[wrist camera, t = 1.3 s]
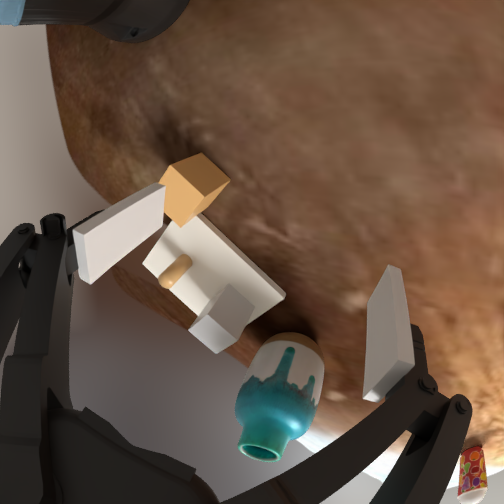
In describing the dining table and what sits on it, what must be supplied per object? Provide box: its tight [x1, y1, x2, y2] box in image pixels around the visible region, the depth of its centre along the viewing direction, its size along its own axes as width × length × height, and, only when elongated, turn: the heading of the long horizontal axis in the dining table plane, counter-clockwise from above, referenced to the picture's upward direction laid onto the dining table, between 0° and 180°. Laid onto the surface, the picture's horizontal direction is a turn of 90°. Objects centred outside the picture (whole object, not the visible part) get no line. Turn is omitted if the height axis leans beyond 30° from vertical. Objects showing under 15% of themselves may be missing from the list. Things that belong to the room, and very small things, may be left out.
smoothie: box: [457, 446, 488, 504], centre depth 37 cm, size 8×8×20 cm
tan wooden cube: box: [159, 153, 231, 228], centre depth 33 cm, size 5×5×7 cm
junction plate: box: [143, 212, 286, 354], centre depth 40 cm, size 18×14×8 cm
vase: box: [235, 332, 324, 462], centre depth 36 cm, size 11×11×19 cm
